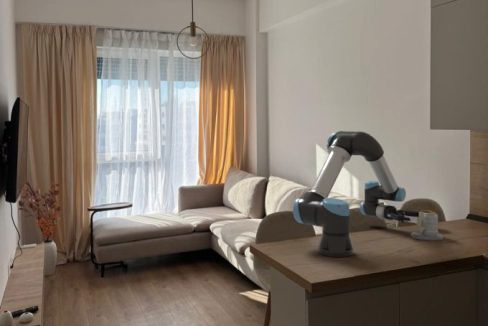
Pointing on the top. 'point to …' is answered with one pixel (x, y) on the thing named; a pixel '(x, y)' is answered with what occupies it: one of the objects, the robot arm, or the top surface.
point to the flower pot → (425, 212)
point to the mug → (428, 224)
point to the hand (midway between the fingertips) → (424, 218)
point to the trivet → (426, 238)
